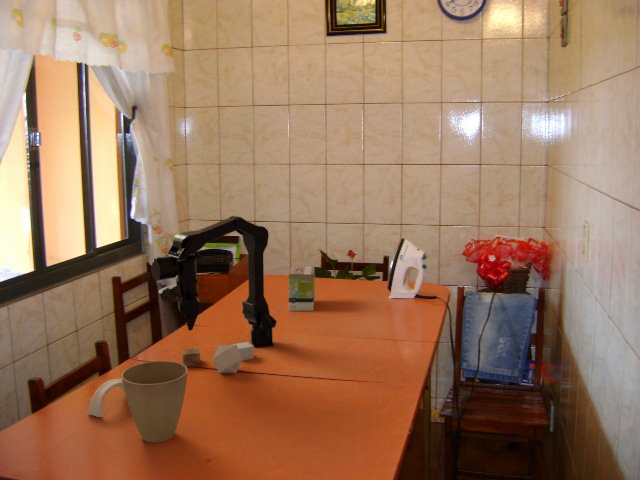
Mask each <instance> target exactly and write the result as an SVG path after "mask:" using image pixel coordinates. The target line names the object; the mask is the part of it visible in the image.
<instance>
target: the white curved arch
mask: <svg viewBox="0 0 640 480" xmlns="http://www.w3.org/2000/svg"><path fill="white" fill-rule="evenodd" d="M115 387H116V388H117V387H119V388H121V389H122V390H123V391H124V392H125V390H124V386H123V381H122V377H121V378H115V379H110V380H107V381H105V382H104V383H102V384H101V385H99V387H98V388H97V389H96V391H94V393H93V395H92V397H91V399H90V400H89V404H88V409H87V413H88V415H89V416H92V415H93V416H92V417H95V416H96V418H99V417H100V419H101V417H102V418H103V417H104V415H103V404H104V399H105V397H106V395H107V394H108V393H109V392H110V391H111V390H112V389H113V388H115Z"/></svg>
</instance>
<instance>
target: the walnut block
mask: <svg viewBox="0 0 640 480" xmlns="http://www.w3.org/2000/svg"><path fill="white" fill-rule="evenodd" d="M181 354H182V355H181V357H182V364H183V365H185V366H186V367H187V368H189V367H195V366H196V367H197V366H201V353H200V349H199V347H195V348H193V347H192V348H182V349H181Z"/></svg>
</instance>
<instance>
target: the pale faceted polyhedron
mask: <svg viewBox="0 0 640 480" xmlns="http://www.w3.org/2000/svg"><path fill="white" fill-rule="evenodd" d="M212 361H213V363H214V366H215V368H216V370H217V372H218V374H237V373H238V370H239V368H240V366H241V363H242V361H243V360H242V357H241V354H240V352H239V350H238V347H237V345H233V344H219V345H218V346H217V348H216V351H215V353H214V355H213V357H212Z"/></svg>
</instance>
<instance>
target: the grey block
mask: <svg viewBox="0 0 640 480" xmlns="http://www.w3.org/2000/svg"><path fill="white" fill-rule="evenodd" d="M232 345H237V347H238V350H239V352H240V354H241V357H242V361H247V360H251V359H254V358H255V357H254V355H255V354H254V352H255V351H254V346H253V344H252V343H249V342H248V341H245V342H239V343H233V344H232Z"/></svg>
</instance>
